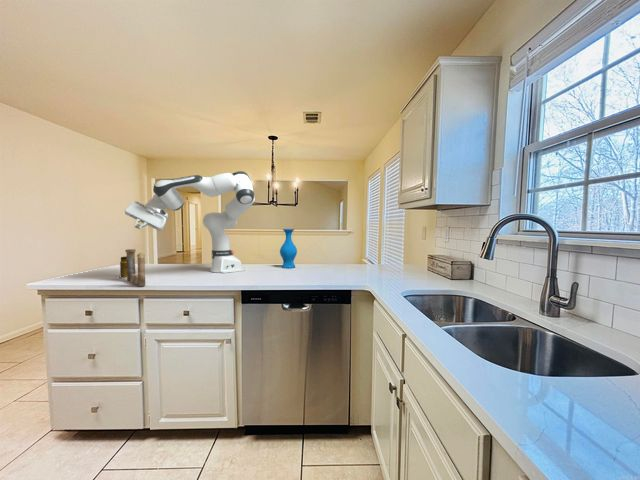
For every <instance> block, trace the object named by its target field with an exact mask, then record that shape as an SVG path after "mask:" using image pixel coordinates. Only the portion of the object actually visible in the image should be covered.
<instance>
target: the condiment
mask: <svg viewBox="0 0 640 480" xmlns="http://www.w3.org/2000/svg"><path fill="white" fill-rule="evenodd" d="M119 266H120V267H119V268H120V273H119V274H120V276H121V277H127V255H125V256H121V257H120V262H119ZM117 276H118V275H116V277H117ZM116 277H115V278H116Z"/></svg>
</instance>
